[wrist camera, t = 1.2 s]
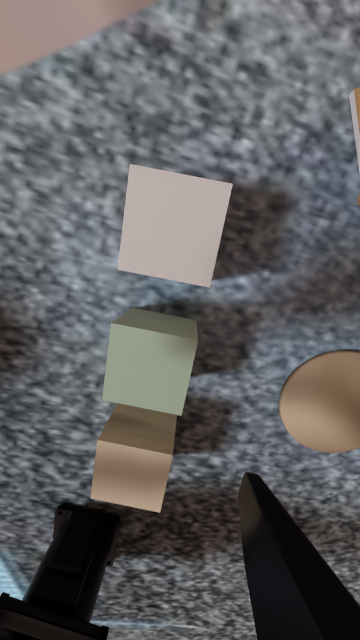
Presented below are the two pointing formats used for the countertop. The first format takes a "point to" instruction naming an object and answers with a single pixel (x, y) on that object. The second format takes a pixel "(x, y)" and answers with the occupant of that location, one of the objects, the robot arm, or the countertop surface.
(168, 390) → the sage block
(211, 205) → the offwhite block
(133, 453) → the maple block
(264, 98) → the countertop surface
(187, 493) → the countertop surface
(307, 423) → the coaster
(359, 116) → the architectural model
